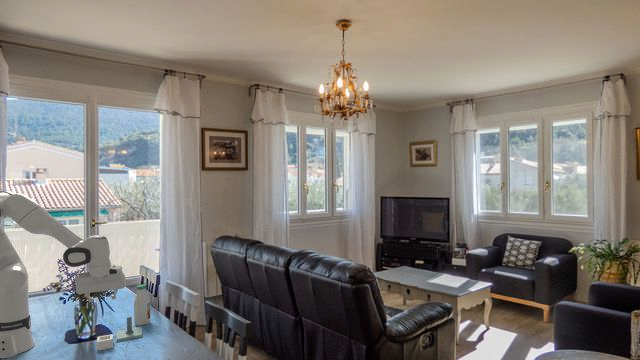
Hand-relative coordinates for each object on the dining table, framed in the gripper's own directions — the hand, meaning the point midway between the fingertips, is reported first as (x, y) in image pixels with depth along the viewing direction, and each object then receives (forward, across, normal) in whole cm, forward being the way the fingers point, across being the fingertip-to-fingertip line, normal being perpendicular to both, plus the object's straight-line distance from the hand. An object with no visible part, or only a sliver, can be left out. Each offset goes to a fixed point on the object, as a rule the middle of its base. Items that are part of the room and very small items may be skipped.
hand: (102, 300), depth 183 cm
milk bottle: (+22, +12, +23) cm, 34 cm away
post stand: (+21, +9, +8) cm, 24 cm away
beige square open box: (+21, 0, -2) cm, 21 cm away
